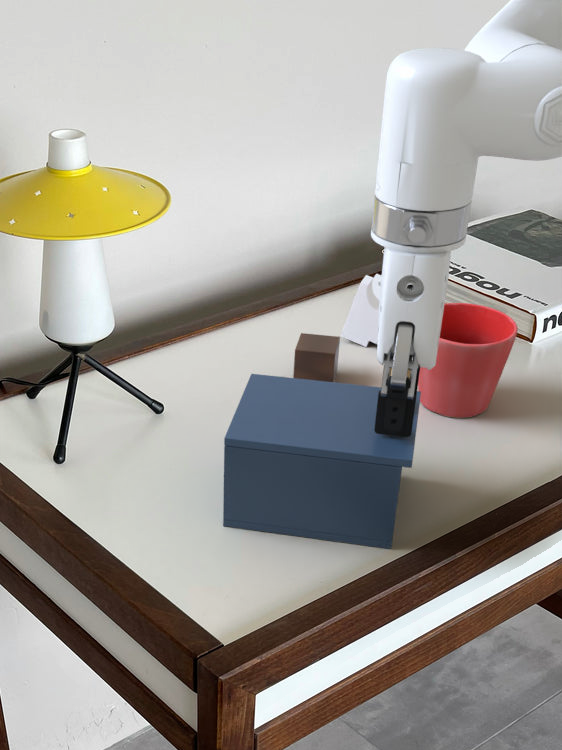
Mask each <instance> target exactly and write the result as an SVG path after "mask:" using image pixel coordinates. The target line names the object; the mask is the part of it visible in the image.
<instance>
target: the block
mask: <svg viewBox="0 0 562 750" xmlns="http://www.w3.org/2000/svg"><path fill="white" fill-rule="evenodd" d="M340 343H341V336H336V335H327V334H326V335H324V334H314V333H306V332H305V333H303V332H301V333H300V336H299V337H298V340H297V343H296V345H295V348H294V357H293V358H294V360H293V376H292V378H297V379H307V380H316V381H326V382H336V377H337V373H338V366H339V355H340V354H339V353H340Z"/></svg>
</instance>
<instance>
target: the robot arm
mask: <svg viewBox="0 0 562 750" xmlns="http://www.w3.org/2000/svg"><path fill="white" fill-rule="evenodd" d="M382 107H383V108H382V117H381V128H380V138H379V147H378V159H377V169H376V177H375V179H376V180H375V187H374V189H375V190H374V199H373V209H372V218H371V230H370V238H371V239H372V240H373V242H375V243H376V244H378V245H379V246H381V247H383V248H384V249H383V256H382V268H381V276H382V278H381V288H380V301H379V316H378V341H377V344H376V345H377V346H376V349H377V350H376V360H377V362H378V363H379V364H380V365H382V366H383V371H382V379H381V387H382V388H381V391H379V393H378V402H377V411H376V420H375V428H374V431H375V433H377V434H383V435H392V436H400V437H409V436H411V433H412V426H413V418H414V411H415V404H416V396H417V391H418V380H419V373H420V367H424V368H427V370H430V369H432V368H433V367H434V366H435V365H436V358H437V351H438V345H439V338H440V332H441V325H442V318H443V312H444V305H445V303H446V299H447V298H446V297H447V290H448V283H449V275H450V266H451V254H452V251H455V250H458V249H459V248H461V247H462V246H464V245H465V243H466V242H467V241H466V240H467V234H468V229H469V228H468V227H469V221H470V214H471V207H472V201H473V200H472V199H473V195H474V189H475V181H476V176H477V169H478V163H479V158H480V157H494V158H495V157H496V158H504V159H513V160H521V161H534V162H535V161H536V162H537V161H539V162H540V161H541V162H542V161H548V160H549V161H550V160H555V159H558V158H561V157H562V0H509V1H508V2H507V3H506V4H505V5H503V7H502V8H501V9H500V10H499V11H498V12H497V13H495V15H493V16H492V17H491V18H490V19H489V20H488V21H487V22H486V23H485V24H484V26H482V27H481V28H480V30H478V32H477V33H476V34H475V35H474V36H473V37H472V38H471V40H470V41H469V42H468V44H467V45H466V47H465V48H464V49H457V48H449V47H448V48H447V47H446V48H445V47H423V48H415V49H411V50H407V51H404V52H402V53H400V54H398V55H397V56H396V57H395V58H394V59H393V60H392V61H391V63H390V65H389V66H388V69H387V74H386V80H385V88H384V98H383V106H382ZM418 363H419V364H418ZM391 369H392V375H391ZM407 370H411V373H410V379H409V377H407Z"/></svg>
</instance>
